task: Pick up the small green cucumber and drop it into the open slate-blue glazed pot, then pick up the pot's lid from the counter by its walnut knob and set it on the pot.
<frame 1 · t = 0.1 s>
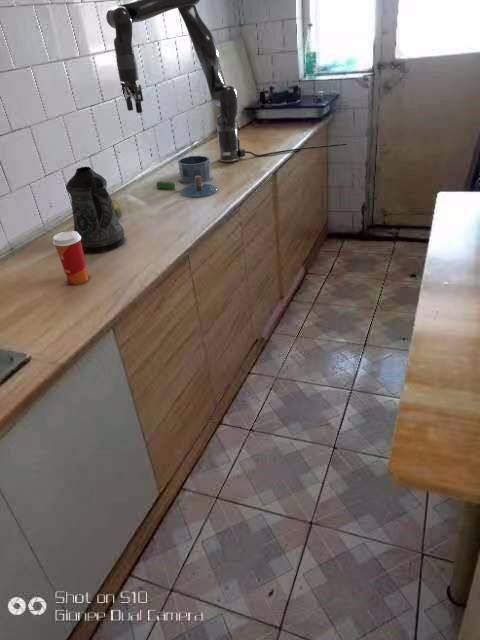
hand: (135, 111, 196), 29 cm above the worktop, tool pointing down, fingers open, 8 cm apart
potato: (111, 216, 180), on the worktop
cucumber: (166, 189, 202), on the worktop
paper cup: (78, 280, 139), on the worktop
beer stein: (104, 244, 159), on the worktop
pot: (195, 179, 211), on the worktop
lid: (199, 191, 196), point 1 cm above the worktop
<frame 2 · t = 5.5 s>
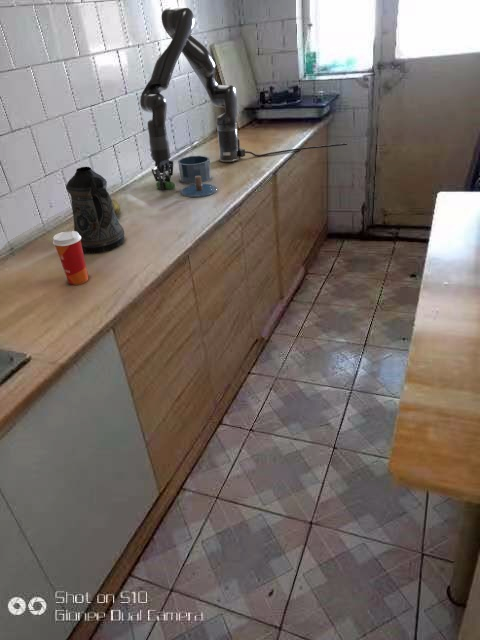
hand: (166, 188, 202), 0 cm above the worktop, tool pointing down, fingers closed on cucumber, 3 cm apart
cucumber: (166, 189, 202), on the worktop, touching gripper
everything else where it was.
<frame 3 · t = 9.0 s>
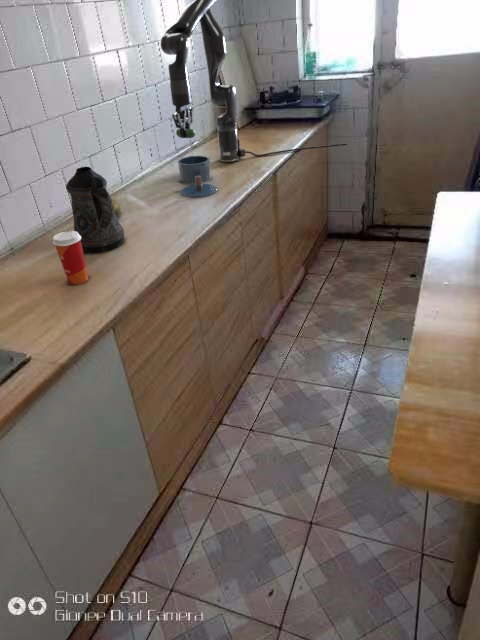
hand: (186, 136, 199), 19 cm above the worktop, tool pointing down, fingers closed on cucumber, 3 cm apart
cucumber: (186, 137, 199), point 18 cm above the worktop, touching gripper
everything else where it was.
when the fingers open (7 cm above the worktop, at t = 12.5 s): cucumber drops 6 cm, resting on pot.
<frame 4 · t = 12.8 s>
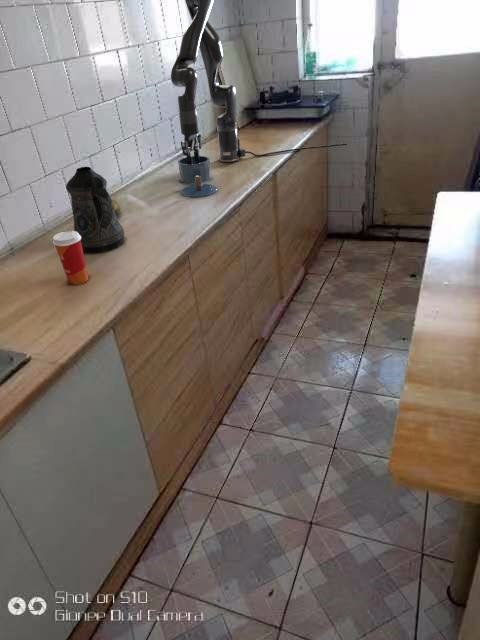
hand: (193, 162, 207), 8 cm above the worktop, tool pointing down, fingers open, 5 cm apart
cucumber: (195, 178, 210), point 1 cm above the worktop, touching pot
everything else where it was.
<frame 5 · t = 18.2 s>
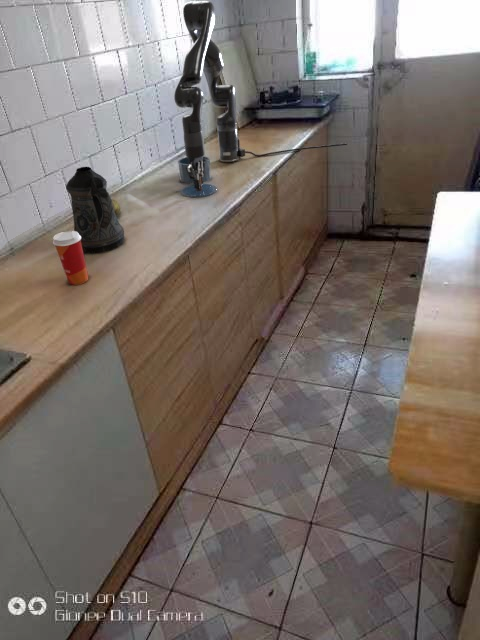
hand: (199, 187, 195), 2 cm above the worktop, tool pointing down, fingers closed on lid, 2 cm apart
lid: (199, 191, 196), point 1 cm above the worktop, touching gripper
everything else where it was.
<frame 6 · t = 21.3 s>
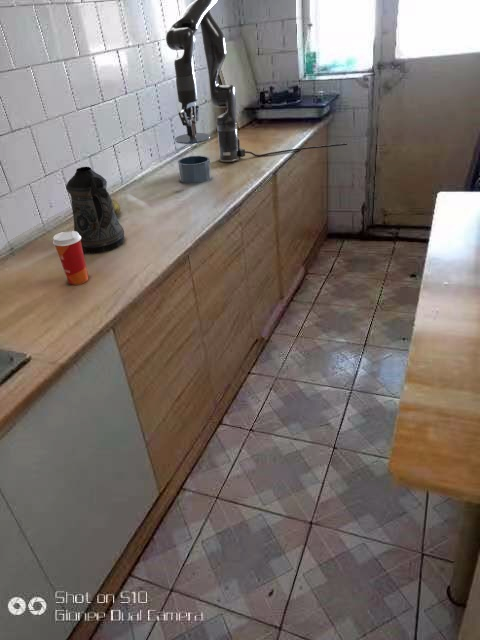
hand: (192, 134, 194), 21 cm above the worktop, tool pointing down, fingers closed on lid, 2 cm apart
lid: (192, 138, 194), point 19 cm above the worktop, touching gripper
everything else where it was.
when the fingers open (10 cm above the worktop, at t = 24.8 s): lid stays where it is, resting on pot.
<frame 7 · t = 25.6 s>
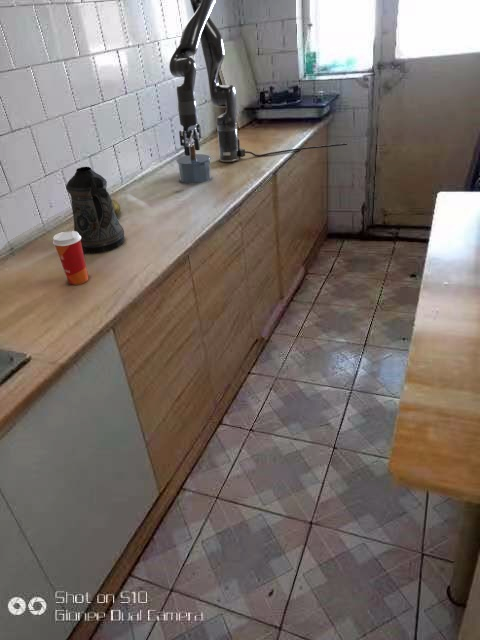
hand: (192, 152, 204), 12 cm above the worktop, tool pointing down, fingers open, 8 cm apart
lid: (193, 160, 206), point 8 cm above the worktop, touching pot
everything else where it was.
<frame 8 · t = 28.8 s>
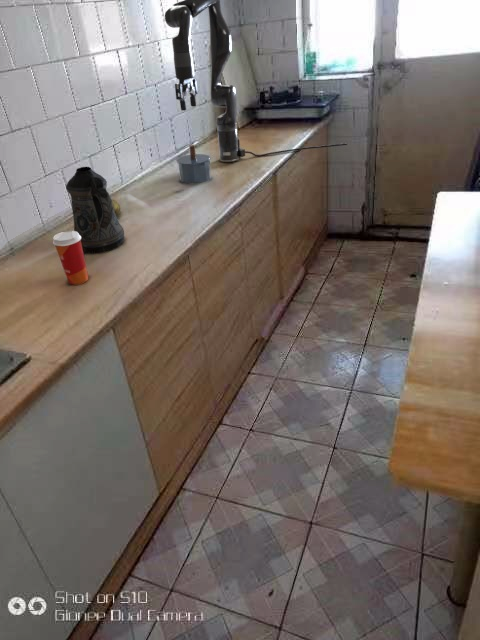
hand: (188, 108, 201), 28 cm above the worktop, tool pointing down, fingers open, 8 cm apart
nothing on the worktop moved.
at the end: cucumber inside the target area in the pot (0.0 cm from its centre), point 0.5 cm above the pot's base; lid 0.0 cm off-centre on the pot, point 8.5 cm above the pot's base; lid tilted 0° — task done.
